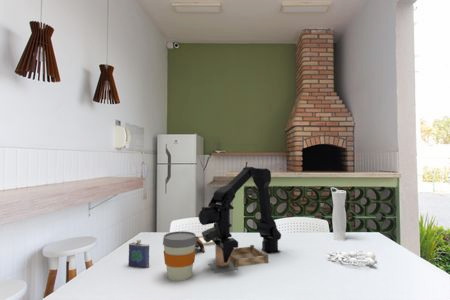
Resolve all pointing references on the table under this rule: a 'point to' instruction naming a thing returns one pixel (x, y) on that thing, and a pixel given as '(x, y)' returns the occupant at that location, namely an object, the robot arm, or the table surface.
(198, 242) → the brown creature figurine
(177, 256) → the reusable coffee cup
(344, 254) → the tangled rod sculpture
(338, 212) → the white water bottle
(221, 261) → the terracotta pot
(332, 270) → the table surface
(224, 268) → the slate mat
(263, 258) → the brown wooden tray
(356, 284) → the table surface
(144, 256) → the flask
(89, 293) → the table surface
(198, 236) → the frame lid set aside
